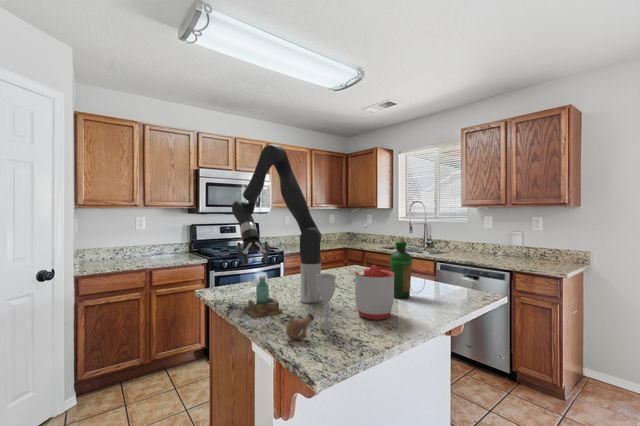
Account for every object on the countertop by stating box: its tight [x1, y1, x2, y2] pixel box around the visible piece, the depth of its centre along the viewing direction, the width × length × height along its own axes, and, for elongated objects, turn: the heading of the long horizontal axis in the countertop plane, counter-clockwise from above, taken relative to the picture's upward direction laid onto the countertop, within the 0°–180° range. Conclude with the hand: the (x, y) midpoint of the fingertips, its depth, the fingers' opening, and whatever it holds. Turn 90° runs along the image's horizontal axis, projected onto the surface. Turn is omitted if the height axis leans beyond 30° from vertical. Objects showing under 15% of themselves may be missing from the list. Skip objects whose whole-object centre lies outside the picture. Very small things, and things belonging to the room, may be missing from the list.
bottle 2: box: [389, 237, 413, 300], centre depth 151 cm, size 11×11×28 cm
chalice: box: [316, 273, 337, 330], centre depth 111 cm, size 7×7×18 cm
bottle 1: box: [255, 275, 270, 305], centre depth 128 cm, size 5×5×13 cm
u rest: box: [243, 297, 283, 319], centre depth 128 cm, size 12×12×4 cm
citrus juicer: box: [352, 264, 395, 321], centre depth 124 cm, size 16×17×20 cm
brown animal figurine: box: [285, 312, 315, 341], centre depth 100 cm, size 9×4×8 cm, turn 103°
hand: (256, 262), depth 135 cm, fingers open, 8 cm apart
